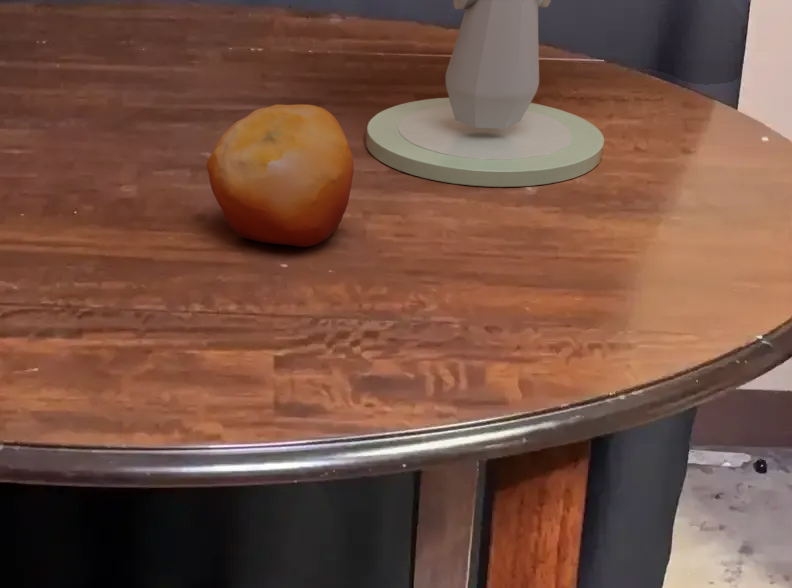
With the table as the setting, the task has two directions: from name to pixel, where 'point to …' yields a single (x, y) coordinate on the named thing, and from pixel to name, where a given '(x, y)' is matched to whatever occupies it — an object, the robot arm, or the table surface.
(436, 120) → the plate
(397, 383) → the table surface
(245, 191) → the fruit
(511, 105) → the salt shaker
